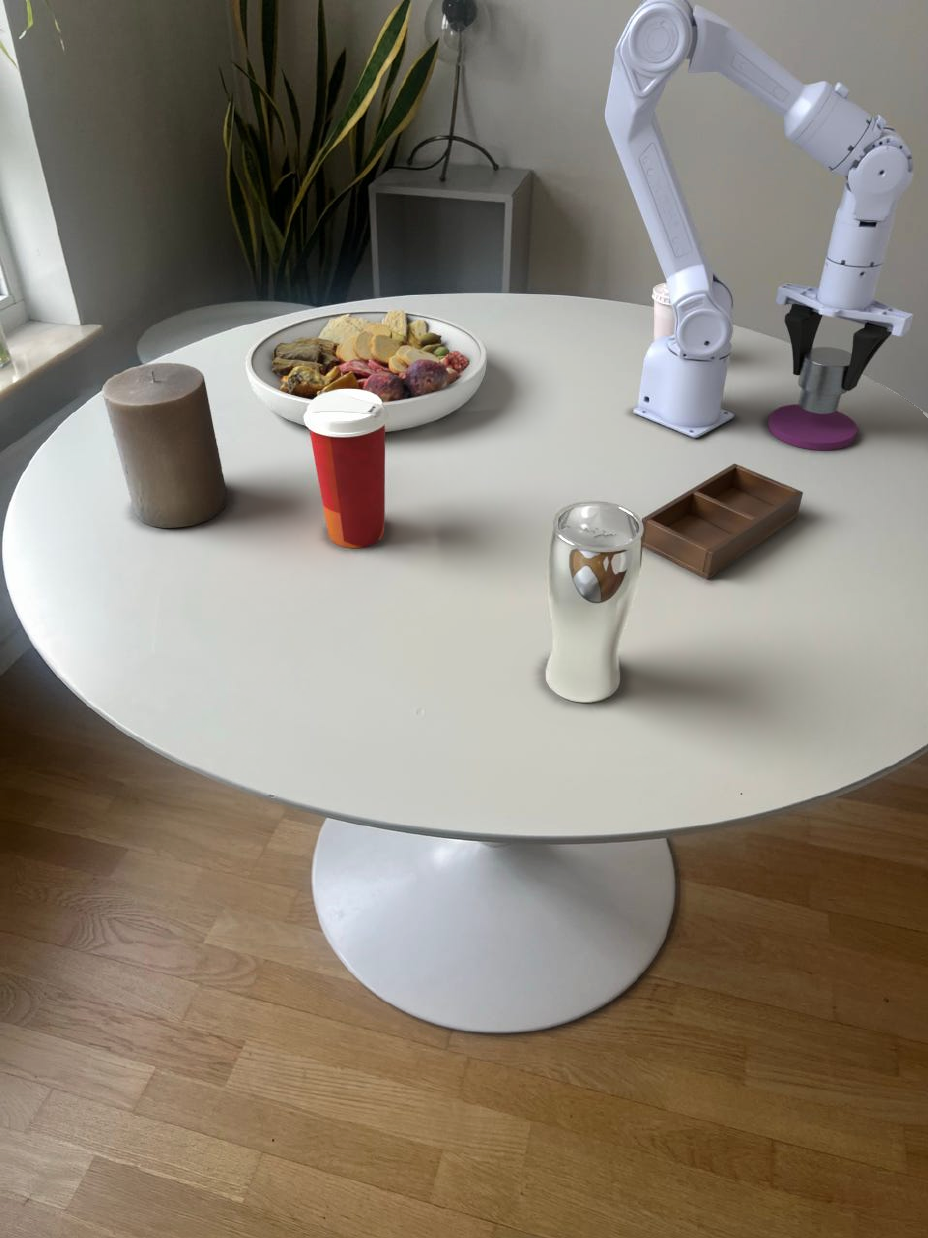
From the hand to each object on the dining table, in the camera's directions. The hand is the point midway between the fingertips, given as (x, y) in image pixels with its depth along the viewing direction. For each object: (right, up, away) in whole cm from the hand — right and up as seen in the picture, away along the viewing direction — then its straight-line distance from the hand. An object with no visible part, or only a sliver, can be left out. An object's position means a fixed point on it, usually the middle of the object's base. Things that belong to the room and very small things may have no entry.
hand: (823, 379), depth 107 cm
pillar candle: (-71, -16, -9) cm, 73 cm away
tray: (-16, -19, -13) cm, 27 cm away
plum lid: (0, -5, +4) cm, 6 cm away
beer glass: (-32, -32, -30) cm, 54 cm away
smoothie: (-14, +7, +20) cm, 25 cm away
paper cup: (-52, -19, -13) cm, 57 cm away
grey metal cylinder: (0, -2, +2) cm, 3 cm away
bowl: (-54, +2, +13) cm, 55 cm away
